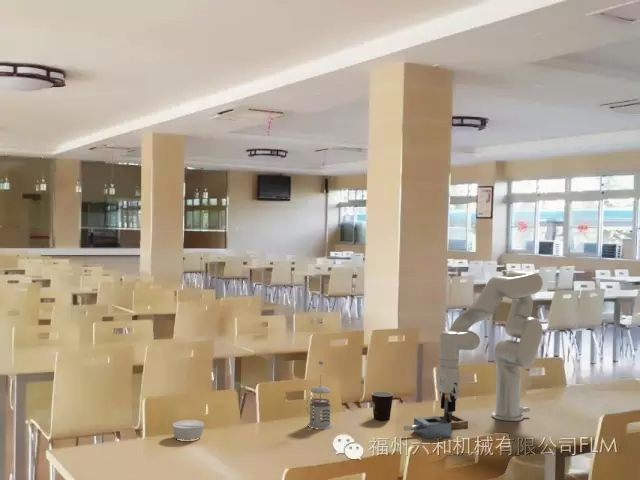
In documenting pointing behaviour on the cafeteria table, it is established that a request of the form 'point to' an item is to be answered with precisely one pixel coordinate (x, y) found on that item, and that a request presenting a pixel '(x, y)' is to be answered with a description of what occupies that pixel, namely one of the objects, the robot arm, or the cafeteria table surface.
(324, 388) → the french press
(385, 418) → the coffee mug
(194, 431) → the ramekin
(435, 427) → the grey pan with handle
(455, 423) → the tray
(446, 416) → the orange grey cylinder
